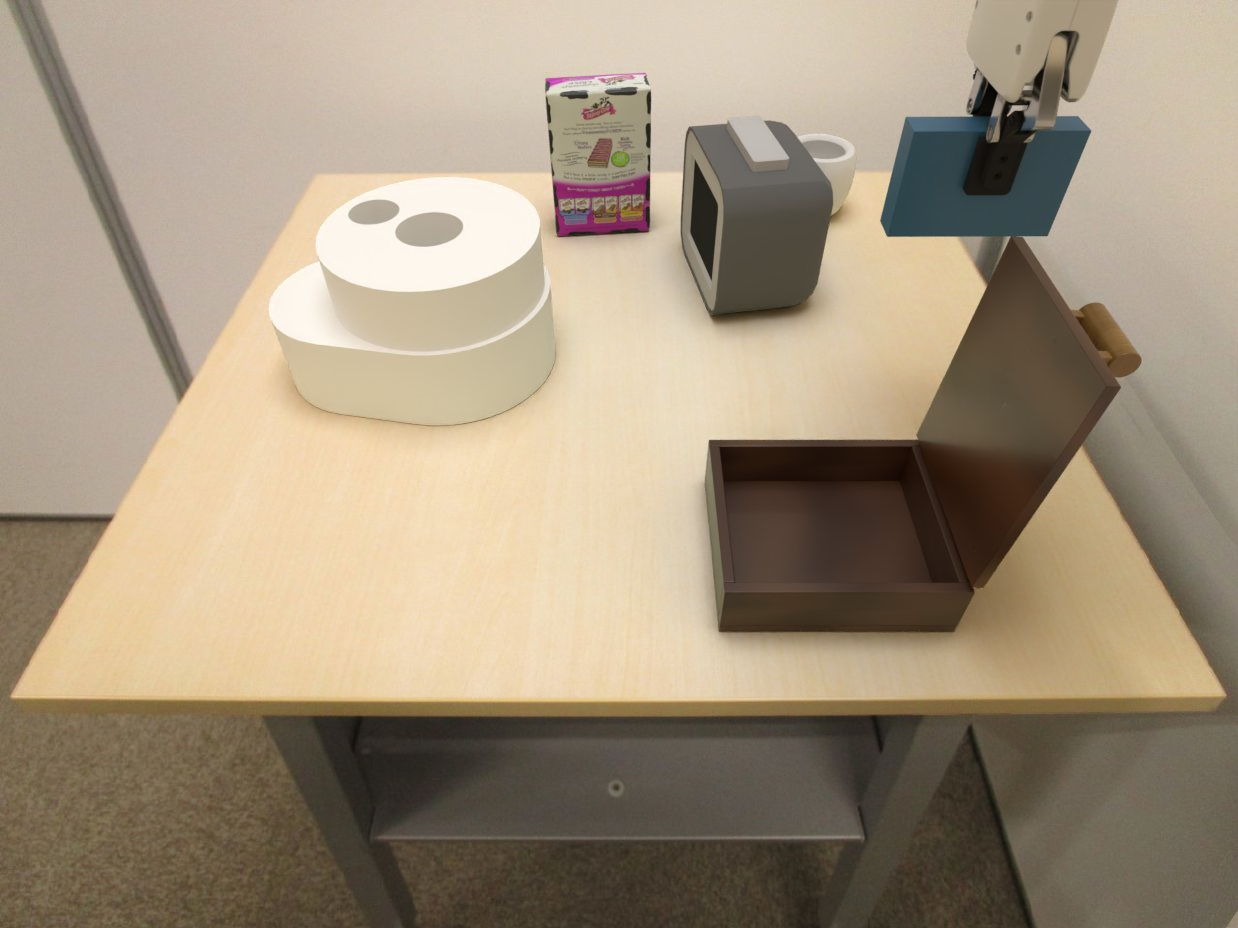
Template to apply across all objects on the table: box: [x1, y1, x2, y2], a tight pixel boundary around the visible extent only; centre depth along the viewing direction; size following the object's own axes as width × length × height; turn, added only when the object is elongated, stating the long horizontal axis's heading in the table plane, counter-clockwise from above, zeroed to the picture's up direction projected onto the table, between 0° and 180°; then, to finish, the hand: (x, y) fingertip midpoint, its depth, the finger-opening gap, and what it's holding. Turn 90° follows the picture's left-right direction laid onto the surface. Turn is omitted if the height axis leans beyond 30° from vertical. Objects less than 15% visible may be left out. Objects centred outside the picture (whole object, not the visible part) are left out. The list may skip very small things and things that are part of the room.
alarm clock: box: [680, 115, 833, 316], centre depth 83 cm, size 16×11×16 cm
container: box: [268, 176, 557, 427], centre depth 74 cm, size 20×25×14 cm
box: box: [704, 439, 976, 633], centre depth 61 cm, size 17×15×5 cm
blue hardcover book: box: [879, 115, 1092, 238], centre depth 59 cm, size 12×2×8 cm, turn 90°
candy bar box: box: [544, 72, 652, 237], centre depth 91 cm, size 11×5×16 cm, turn 95°
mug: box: [797, 133, 857, 217], centre depth 95 cm, size 12×8×8 cm
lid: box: [916, 236, 1142, 589], centre depth 52 cm, size 17×15×5 cm
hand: (978, 180), depth 59 cm, fingers closed on blue hardcover book, 2 cm apart
